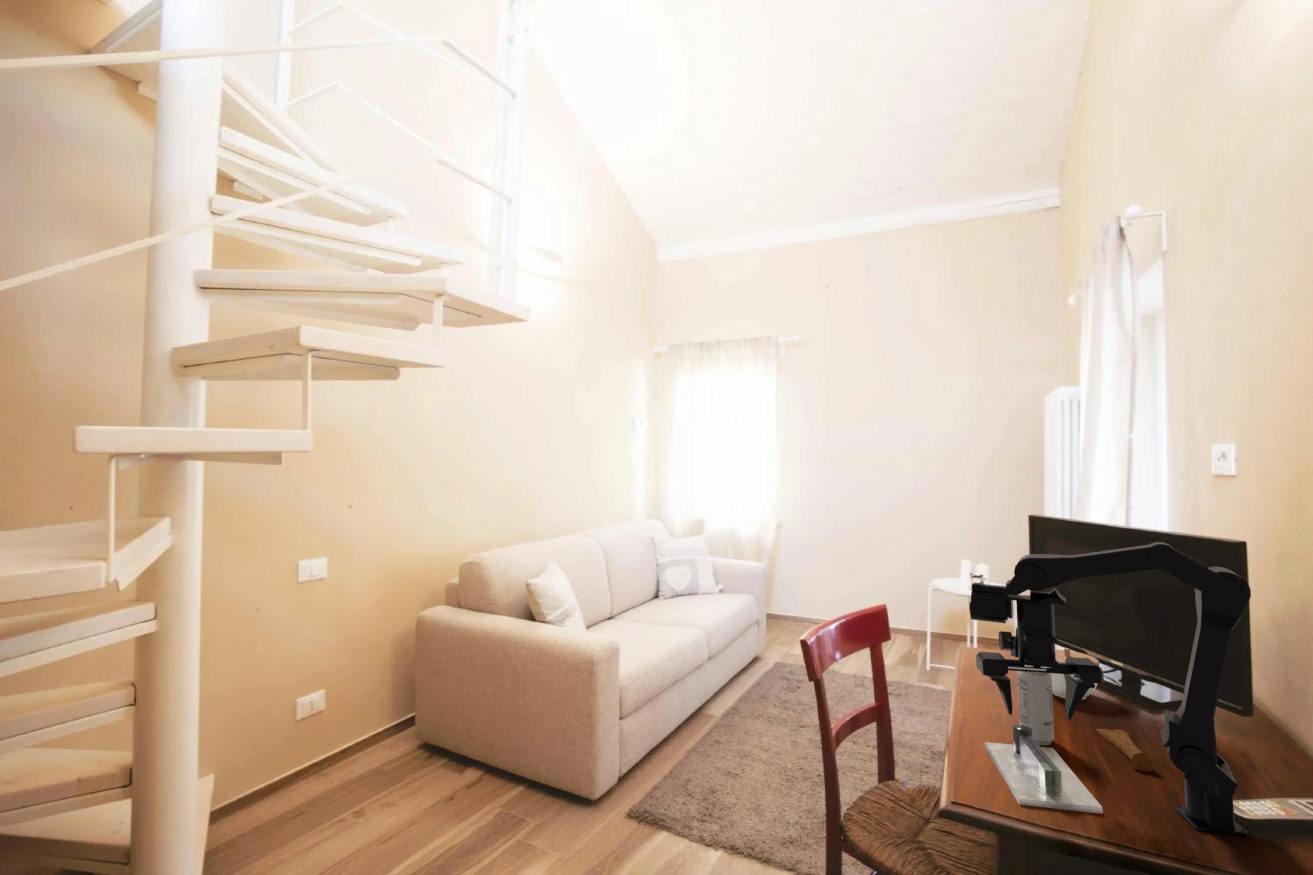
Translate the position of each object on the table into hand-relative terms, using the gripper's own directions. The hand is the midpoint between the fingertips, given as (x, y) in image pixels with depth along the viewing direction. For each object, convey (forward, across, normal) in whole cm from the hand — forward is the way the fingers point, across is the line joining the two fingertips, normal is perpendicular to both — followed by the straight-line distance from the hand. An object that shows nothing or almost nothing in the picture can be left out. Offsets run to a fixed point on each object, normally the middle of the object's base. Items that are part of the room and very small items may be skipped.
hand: (1038, 716), depth 111 cm
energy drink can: (+12, -5, -20) cm, 23 cm away
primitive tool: (+12, -20, -19) cm, 30 cm away
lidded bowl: (+12, -21, -50) cm, 55 cm away
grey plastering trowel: (+11, 0, -2) cm, 12 cm away
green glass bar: (+10, -1, -2) cm, 10 cm away
